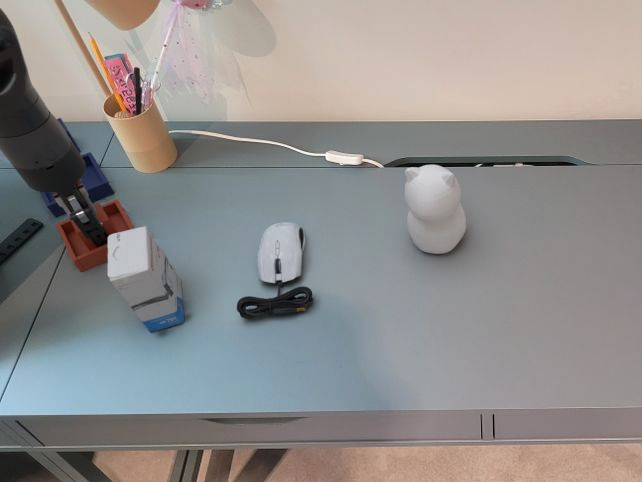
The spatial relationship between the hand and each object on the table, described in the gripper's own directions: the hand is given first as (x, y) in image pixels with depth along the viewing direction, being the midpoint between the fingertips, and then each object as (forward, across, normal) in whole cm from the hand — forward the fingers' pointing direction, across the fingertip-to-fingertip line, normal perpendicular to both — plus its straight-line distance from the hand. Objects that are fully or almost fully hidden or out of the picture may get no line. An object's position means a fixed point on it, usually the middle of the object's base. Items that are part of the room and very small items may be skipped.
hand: (100, 235), depth 98 cm
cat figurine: (+1, +30, +42) cm, 52 cm away
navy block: (+1, -26, +1) cm, 26 cm away
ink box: (+1, +18, +3) cm, 18 cm away
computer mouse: (+1, +22, +19) cm, 29 cm away
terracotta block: (+1, 0, 0) cm, 1 cm away
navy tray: (+1, -14, 0) cm, 14 cm away
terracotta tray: (+1, 0, 0) cm, 1 cm away
